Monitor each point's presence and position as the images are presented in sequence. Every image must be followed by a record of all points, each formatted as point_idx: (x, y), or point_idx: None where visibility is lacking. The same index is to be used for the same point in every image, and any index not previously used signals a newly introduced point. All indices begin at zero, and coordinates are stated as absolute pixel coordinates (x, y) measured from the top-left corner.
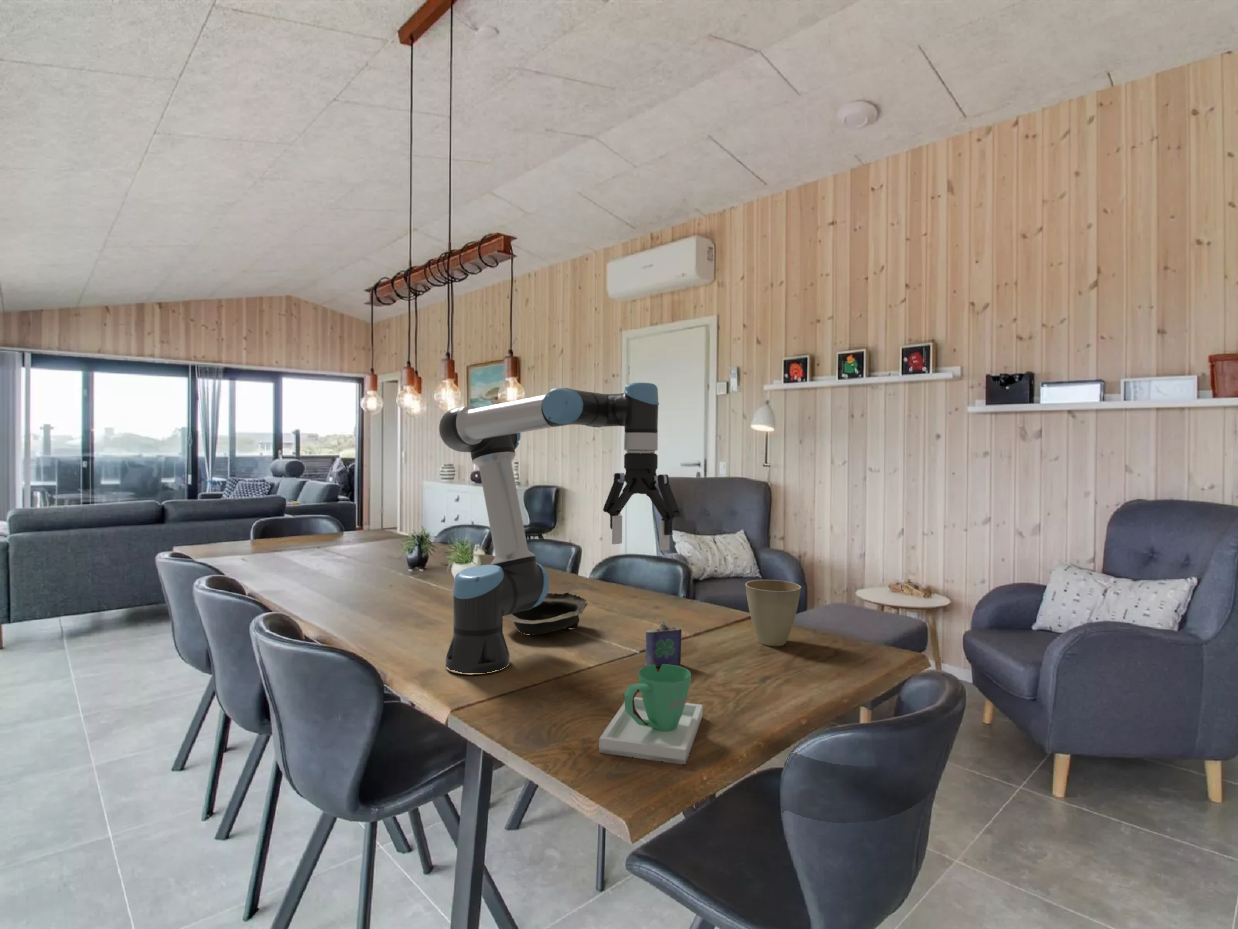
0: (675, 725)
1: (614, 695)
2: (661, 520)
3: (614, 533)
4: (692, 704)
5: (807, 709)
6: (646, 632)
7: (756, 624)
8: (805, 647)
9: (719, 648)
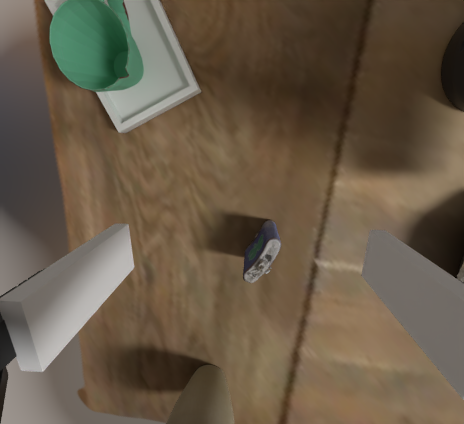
0: (109, 66)
1: (242, 115)
2: (7, 303)
3: (399, 252)
4: (126, 125)
5: (71, 225)
6: (277, 238)
7: (215, 383)
8: (174, 379)
9: (243, 328)
